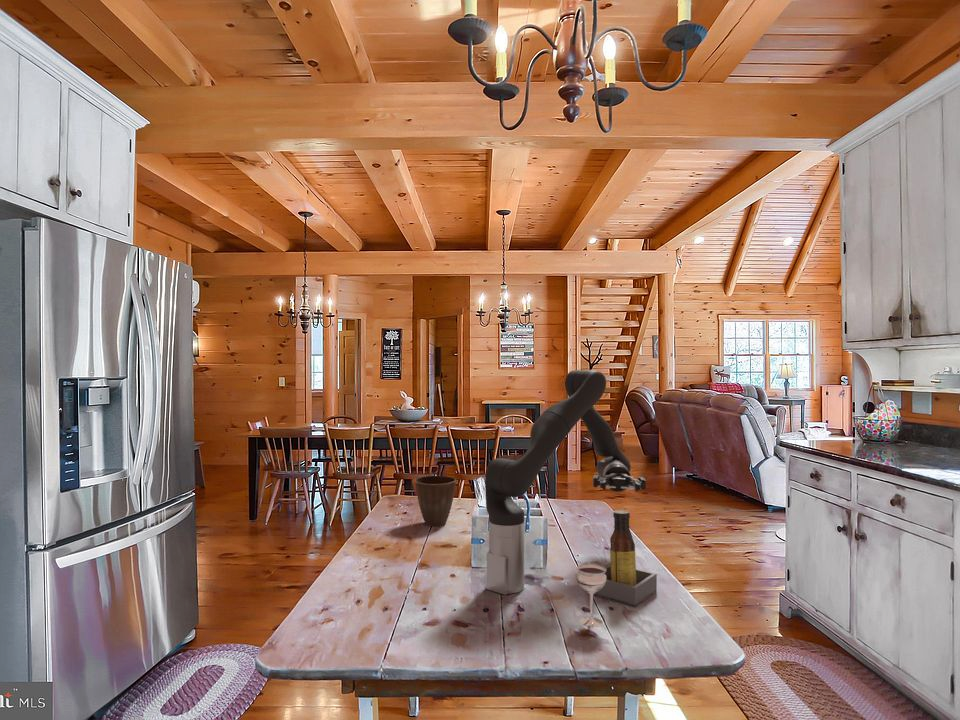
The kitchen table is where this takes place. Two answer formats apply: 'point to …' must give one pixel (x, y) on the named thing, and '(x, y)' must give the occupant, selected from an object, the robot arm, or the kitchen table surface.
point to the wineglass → (591, 587)
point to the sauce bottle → (622, 550)
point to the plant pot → (435, 498)
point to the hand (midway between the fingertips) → (620, 486)
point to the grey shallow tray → (629, 588)
